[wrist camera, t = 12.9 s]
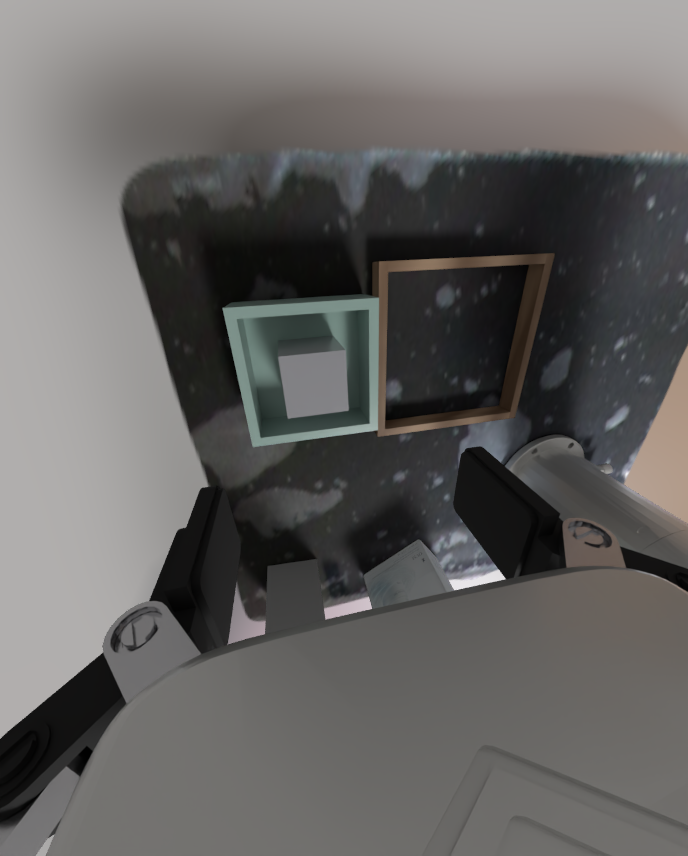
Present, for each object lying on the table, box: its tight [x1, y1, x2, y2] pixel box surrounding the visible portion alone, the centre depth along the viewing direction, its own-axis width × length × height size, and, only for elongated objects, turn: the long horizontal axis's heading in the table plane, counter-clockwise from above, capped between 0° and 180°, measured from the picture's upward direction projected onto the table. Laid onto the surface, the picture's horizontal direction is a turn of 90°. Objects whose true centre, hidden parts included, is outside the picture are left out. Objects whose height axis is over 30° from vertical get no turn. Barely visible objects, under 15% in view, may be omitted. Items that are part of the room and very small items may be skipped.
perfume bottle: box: [265, 559, 325, 634], centre depth 35 cm, size 7×7×18 cm
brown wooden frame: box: [372, 253, 555, 437], centre depth 31 cm, size 17×17×2 cm
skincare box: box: [364, 539, 454, 609], centre depth 42 cm, size 10×6×10 cm, turn 126°
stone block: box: [278, 336, 349, 419], centre depth 26 cm, size 5×5×6 cm
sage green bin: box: [223, 294, 379, 447], centre depth 27 cm, size 12×12×5 cm
